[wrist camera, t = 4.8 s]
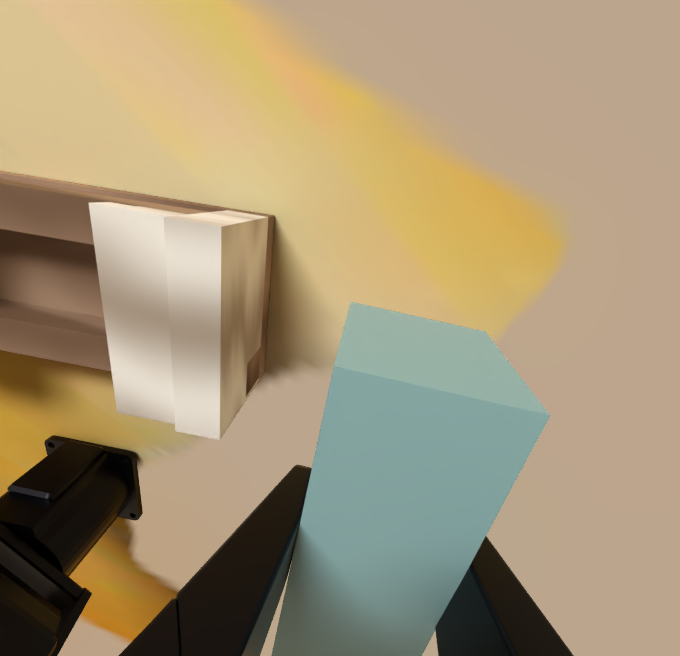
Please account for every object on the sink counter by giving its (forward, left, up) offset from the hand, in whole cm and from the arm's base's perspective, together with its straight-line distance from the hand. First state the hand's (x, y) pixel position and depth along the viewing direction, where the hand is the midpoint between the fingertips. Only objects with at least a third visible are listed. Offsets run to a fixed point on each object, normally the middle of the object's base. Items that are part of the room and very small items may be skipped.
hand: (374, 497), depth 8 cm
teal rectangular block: (0, 0, -1) cm, 1 cm away
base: (0, +16, -11) cm, 20 cm away
